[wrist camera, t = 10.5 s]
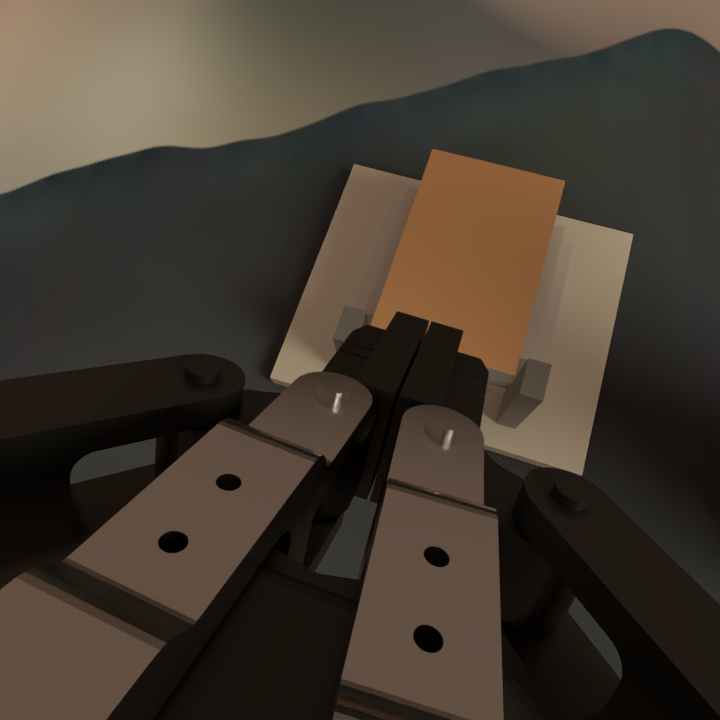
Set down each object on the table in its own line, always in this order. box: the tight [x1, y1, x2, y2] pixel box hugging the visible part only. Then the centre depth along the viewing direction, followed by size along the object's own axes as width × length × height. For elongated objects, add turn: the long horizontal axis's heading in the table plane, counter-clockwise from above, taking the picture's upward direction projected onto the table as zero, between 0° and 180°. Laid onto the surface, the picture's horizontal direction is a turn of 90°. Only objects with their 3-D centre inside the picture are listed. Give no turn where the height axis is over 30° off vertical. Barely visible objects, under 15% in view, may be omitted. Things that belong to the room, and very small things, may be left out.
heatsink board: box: [270, 155, 633, 476], centre depth 36 cm, size 20×17×8 cm
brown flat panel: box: [371, 149, 565, 390], centre depth 33 cm, size 8×1×13 cm
